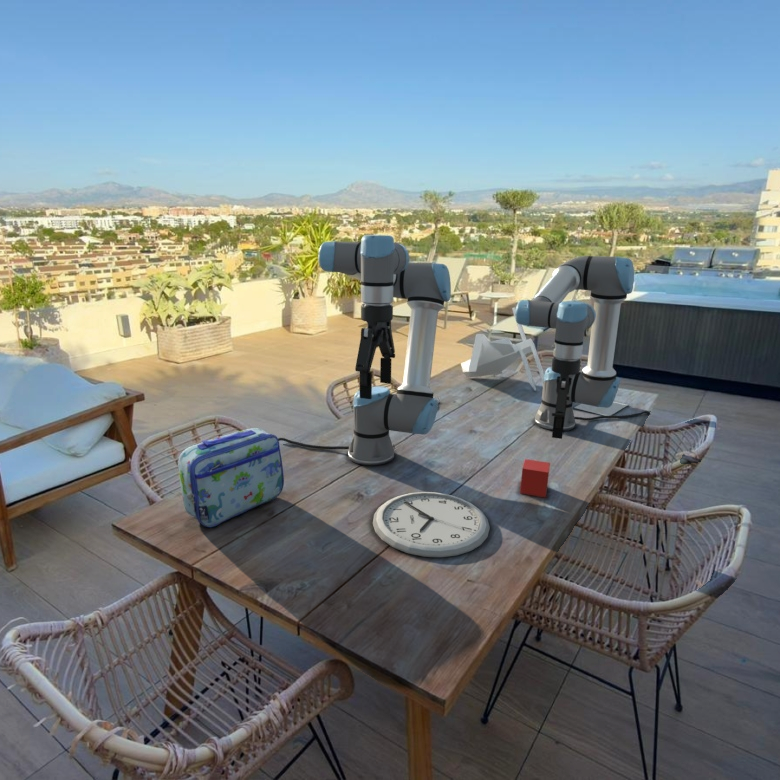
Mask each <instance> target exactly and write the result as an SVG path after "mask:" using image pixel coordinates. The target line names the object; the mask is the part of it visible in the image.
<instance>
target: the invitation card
mask: <svg viewBox="0 0 780 780" xmlns="http://www.w3.org/2000/svg"><path fill="white" fill-rule="evenodd" d="M628 406H629V404H627V403H623V402H618V401H615V400H614V401H613V404H612V405H611V406H610V407H608V408H604V407H596V406H591V405H586V404H580V403H579V404H578V405H575V406H574V407H573V409H575V410H581V411H584V412H587V413H593V414H596V415H599V416H614V414H616V413H617V412H619V411H621V410H623V409H624V408H626V407H628Z"/></svg>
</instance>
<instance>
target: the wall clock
mask: <svg viewBox="0 0 780 780" xmlns="http://www.w3.org/2000/svg"><path fill="white" fill-rule="evenodd" d="M372 526H373V529H374V532H375V534H376V535H377V536H378V537H379V538H380V539H381V540H382V542H384V543H386V544H387V545H389V546H390V547H392V548H393V549H396V550H398V551H401V552H404V553H406V554H409V555H414V556H420V557H427V558H447V557H455V556H460V555H463V554H466V553H469V552H471V551H473V550H476V549H477V548H478V547H480V546H481V545H483V544H484V542H485V541H486V540H487V538H488V537H489V533H490V523H489V519H488V517H487V516H486V515H485V513H484V512H483V511H482V510H481V509H480V508H478V507H477V506H476V505H474V504H473V503H471V502H469V501H468V500H465V499H463V498H461V497H459V496H455V495H451V494H449V493H441V492H432V491H418V492H409V493H405V494H401V495H398V496H395V497H393V498H390V499H388V500H386V501H385V502H384V503H383V504H382V505H380V506H379V507H378V508H377V510H376V511H375V512H374V514H373V519H372Z"/></svg>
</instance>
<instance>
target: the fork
mask: <svg viewBox="0 0 780 780" xmlns="http://www.w3.org/2000/svg"><path fill="white" fill-rule="evenodd" d="M441 397H442V396H438V395H436V396H435V397H434V398H435V399H436V400H437V401H438V404H439V403H440V401H441Z"/></svg>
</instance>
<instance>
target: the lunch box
mask: <svg viewBox="0 0 780 780" xmlns="http://www.w3.org/2000/svg"><path fill="white" fill-rule="evenodd" d="M278 438H279V437H278V436H277V435H275V434H272V433H268V432H267V431H265V430H263V429H262V428H260V427H259V428H257V427H253V428H252V427H251V428H247V429H243V430H238V431H235V432H232V433H228V434H225V435H221V436H218V437H215V438H211V439H208V440H202V441H201V442H199V443H197V444H193V445H190V446H188V447H186V448H185V449H184V450H182V452H181V453H180V454H179V457H178V461H177V468H178V476H179V483H180V484H179V485H180V490H181V496H182V502H183V507H184V510H185V512H186V513H187V514H188V515H190V517H193V518H194V519H196V520H197V522H199V524H201V526H203V527H206V528H213V527H214V528H215V527H216V526H219V525H220V524H222V523H224V522H226V521H228V520H230V519H232V518H234V517H237V516H239V515H241V514H243V513H246V512H247V511H249V510H252V509H254V508H256V507H258V506H260V505H263V504H266V503H268V502H271V501H272V500H274V499H276V498H277V497H279V496H280V495H281V493H282V491H283V489H284V485H285V477H284V469H283V468H284V466H283V459H282V452H281V446H280V441H279V440H278Z"/></svg>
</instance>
